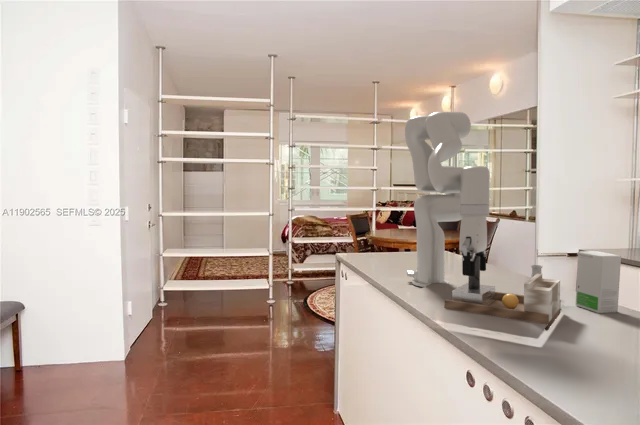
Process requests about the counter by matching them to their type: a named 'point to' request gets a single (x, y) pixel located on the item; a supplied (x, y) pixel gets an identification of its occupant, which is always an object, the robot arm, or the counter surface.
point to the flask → (536, 270)
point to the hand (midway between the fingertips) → (474, 272)
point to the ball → (510, 301)
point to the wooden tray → (522, 303)
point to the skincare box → (598, 281)
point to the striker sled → (474, 289)
